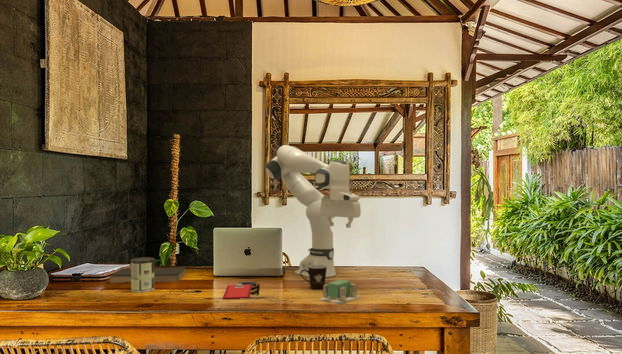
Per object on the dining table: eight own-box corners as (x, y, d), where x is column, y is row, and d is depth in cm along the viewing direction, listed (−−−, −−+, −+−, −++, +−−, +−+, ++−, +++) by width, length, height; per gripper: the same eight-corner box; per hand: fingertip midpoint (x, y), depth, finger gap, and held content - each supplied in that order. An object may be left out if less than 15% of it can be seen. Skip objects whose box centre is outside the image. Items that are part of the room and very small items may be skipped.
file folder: (108, 275, 232) (123, 267, 256) (108, 284, 232) (123, 274, 256) (178, 274, 235) (186, 266, 259) (178, 282, 235) (186, 273, 259)
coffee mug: (329, 286, 224) (329, 265, 224) (323, 291, 216) (323, 268, 216) (305, 285, 228) (305, 264, 228) (299, 289, 220) (299, 267, 220)
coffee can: (142, 286, 225) (142, 256, 225) (159, 288, 221) (159, 258, 221) (125, 291, 216) (125, 259, 216) (142, 293, 211) (142, 261, 211)
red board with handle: (260, 283, 232) (229, 284, 231) (260, 277, 232) (229, 278, 231) (258, 299, 202) (222, 301, 201) (258, 293, 202) (222, 294, 201)
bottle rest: (320, 300, 200) (320, 286, 200) (339, 293, 211) (339, 280, 211) (340, 304, 193) (340, 289, 193) (359, 297, 204) (359, 283, 204)
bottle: (327, 296, 199) (327, 283, 199) (346, 289, 210) (346, 277, 210) (337, 298, 196) (337, 284, 196) (356, 291, 207) (356, 279, 207)
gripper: (317, 195, 219) (317, 225, 219) (354, 197, 207) (354, 228, 207) (325, 195, 224) (325, 224, 224) (362, 196, 212) (362, 227, 212)
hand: (339, 226), depth 215 cm, fingers open, 8 cm apart
